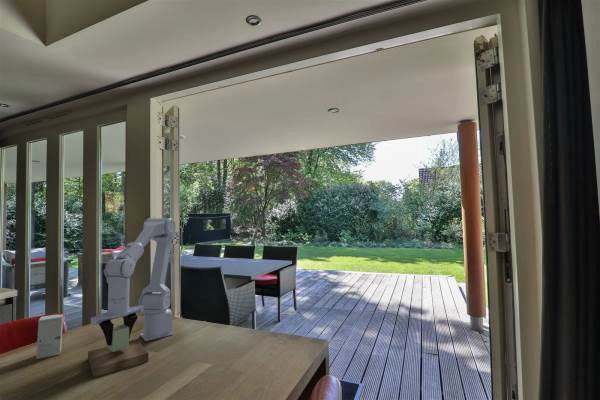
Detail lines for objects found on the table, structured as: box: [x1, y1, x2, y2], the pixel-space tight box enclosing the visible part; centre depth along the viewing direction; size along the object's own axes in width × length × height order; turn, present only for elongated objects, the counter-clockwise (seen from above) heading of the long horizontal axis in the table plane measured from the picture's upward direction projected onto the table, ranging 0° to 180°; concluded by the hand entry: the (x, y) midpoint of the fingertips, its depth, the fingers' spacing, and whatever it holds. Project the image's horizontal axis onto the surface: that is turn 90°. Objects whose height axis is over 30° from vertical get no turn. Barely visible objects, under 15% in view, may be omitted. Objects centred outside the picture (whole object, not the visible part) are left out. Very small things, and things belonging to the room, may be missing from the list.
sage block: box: [106, 323, 130, 352], centre depth 93 cm, size 4×4×6 cm
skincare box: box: [35, 313, 64, 360], centre depth 98 cm, size 6×4×12 cm
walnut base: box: [87, 338, 149, 378], centre depth 93 cm, size 14×14×2 cm
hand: (118, 341), depth 93 cm, fingers closed on sage block, 4 cm apart
